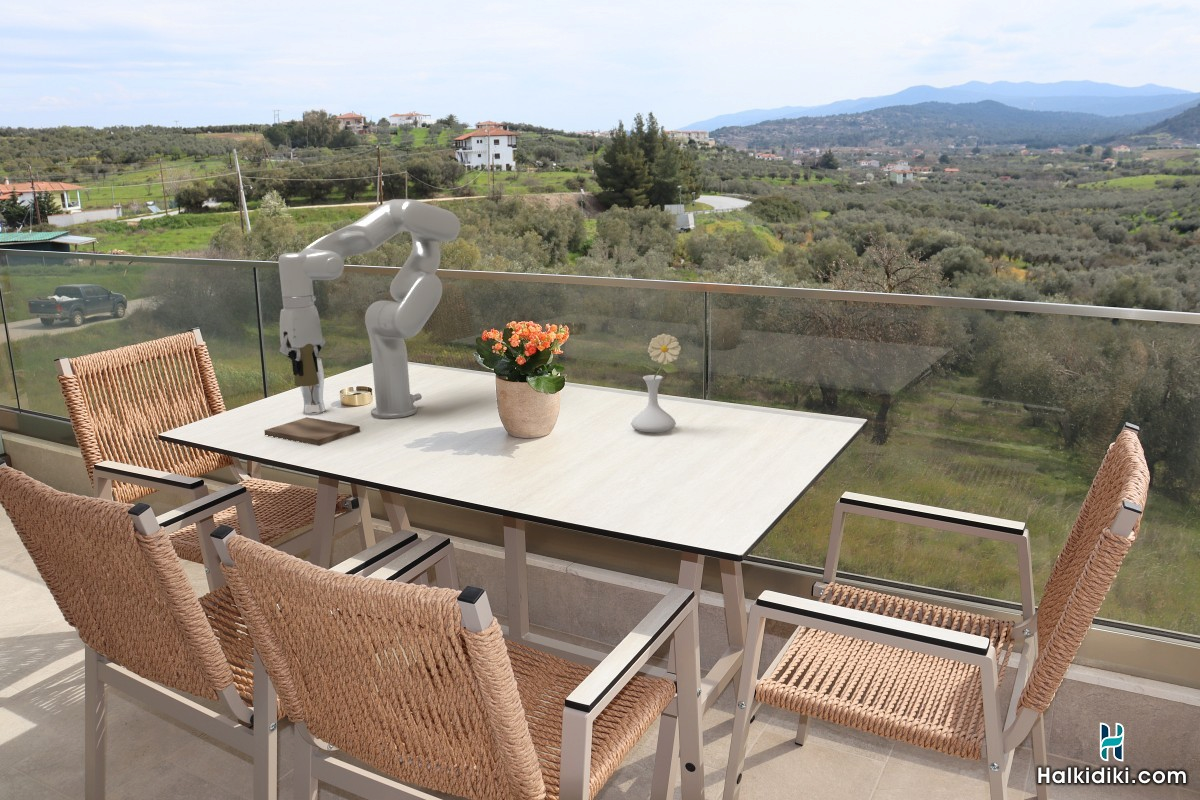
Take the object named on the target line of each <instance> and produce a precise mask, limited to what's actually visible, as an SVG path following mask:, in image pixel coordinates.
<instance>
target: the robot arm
mask: <svg viewBox="0 0 1200 800" xmlns="http://www.w3.org/2000/svg"><path fill="white" fill-rule="evenodd" d="M401 232H410V236H411V240H412V241H411V242H412V248H411V252H410V254H409V255H408V258H407V259H406V261H405V262H404V264H403V265H402V266H401V268H400V269H399V270H398V272H397V274H396V275H395V277H394V278H393V280H392V281H391V283H390V286H389V288H390V289H389V292H390V296H391V297H392V299H393V300H378V301H374V302H373V303H371V304H370V305H369V306H368V307H367V309H366V312H365V315H364V324H365V328H366V331H367V334H368V339H369V344H370V352H371V360H372V361H371V362H372V374H373V383H374V395H375V396H374V397H375V406H376V407H373V408H372V409H371V411H370V413H371V414H370V415H371V417H374V418H376V419H377V418H378V419H399V418H406V417H409V416H412V415H414V414H416V413H417V412H418V408H417V406H416V405H414V403H415V402H418V401H420V400H422V398H423V395H422V394H421V393H419V392H418V393H415V394H412V393H411V389H410V377H409V365H408V363H409V362H408V351H407V350H408V349H407V345H406V342H405V340H406V339H411V338H414V337H416V335H418V333H419V332H420V331H421V330H422V329H423V328H424V326H425V324H427V321H428V320H429V319H430V317H431V316H432V314H433V312H434V311H435V310H436V308H437V306H438V305H439V303H440V300H441V299H442V296H443V284H442V281H441V279H440V278H439V276H437V274H436V272H437V271H438V269H439V266H440V264H441V251H440V246H439V242H440V243H449V242H452V241H454V240H456V238H457V237H459V234H460V232H461V222H460V220H459V217H458V216H457V214H455V213H454V212H452V211H450V210H449V209H445V208H441V207H438V206H435V205H432V204H429V203H426V202H424V201H423V202H422V201H421V200H416V199H407V198H405V199H403V198H402V199H399V198H398V199H397V198H395V199H390V200H387V201H386V202H384V203H382V204H380V205H379V206H378V207H376V208H374V209H373V210H371V211H370V212H369V213H367V214H366V215H364V216H363V217H361V218H359V219H358V220H356V221H355V222H353V223H351V224H348V225H346V226H344V227H342V228H340V229H337V230H335V231H332V232H330V233H328V234H326V235H324V236H322V237H320V238H317V240H315V241H314V242H312V243H311V244H309V245H307V246H305V247H304V248H303V249H302V250H301V251H300V252H288V253H287V252H285V253H282V254H280V255H279V257H278V271H279V279H280V289H281V299H282V306H283V308H282V309H280V314H279V341H280V342H279V343H280V347H279V352H280V353H281V354H283V355H285V357H287V358H288V360H289V361H291V366H292V373H293V376H294V377H295V376H296V375H297V374H298V375H299V376H303V375H304V374H303V362H302V360H300V354H301V352H300V348H303V347H304V346H305V345H306V344H312V345H313V346H314V351H313V353H312V355H313V359H314V364H315V368H316V372H318V364H317V358H318V357H319V356H320V351H321V350H322V348H323V347H324V346H325V345H326V340H325V338H324V337H323V332H322V326H321V320H320V315H319V311H318V309H317V306H315V302H316V300H317V296H316V295H314V287H313V286H314V285H313V281H317V280H318V281H333V280H335V279H338V278H339V277H340V276H342V274H343V272H344V270H345V262H344V259H345V258H348V257H353V256H358V255H362V254H368V253H370V252H373V251H374V250H376V249H378V247H379V248H380V246H382V245H383V244H385V243H386V242H388V241H389V240H390V239H391V238H393V237H395V236H396V235H397V234H400V233H401ZM293 350H294V351H295V353H294V351H293Z"/></svg>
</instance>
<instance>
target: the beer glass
mask: <svg viewBox="0 0 1200 800" xmlns="http://www.w3.org/2000/svg"><path fill="white" fill-rule="evenodd" d="M317 364H318V372H317V376H318V380H319V383H318V384H316V385H312V386H299V388H300V392H301V394H302V397H303V412H302V413H303V414H304V415H307V414H315V415H320V414H324V413H326V411H327V410H326V406H325V402H324V387H325V386H324V384H325V375H324V367H323V363H322V359H321V358H318V357H317ZM323 412H324V413H323Z"/></svg>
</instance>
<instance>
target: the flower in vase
mask: <svg viewBox="0 0 1200 800" xmlns="http://www.w3.org/2000/svg"><path fill="white" fill-rule="evenodd" d="M679 344H680V342H679V341H678V339H677V338H676V337H675V336H672V335H670V334H665V333H662V334H659V335H656V336H655V337H652V338H651V341H650V342H649V345H648V348H647V353H649V357H650V359H651V361H654V362H656V363H657V364H661V365H660V367H659V369H658V370H657V371H656V369H654V368H652V367H649V366H647V365H645V364H644V363H642V365H643V366H644V367H645V368H646V369H648V370H651V371H653V372H655V374H649V375H644V376H642V379H643V380H644V382H645V383H646V387H647V391H648V402H647V405H646V407H645V408H644V409H643V410H642V411H640V412H639V413H638V414H637V415H636V416H634V418H633V419H632V421H631V422H630V425H631V427H632V428H633V429H635V430H637V431H639V432H642V433H643V432H644V433H662V432H663V433H664V432H666V431H669V430H671V429H673V428H674V427H675V425H676V424H677V423H676V421H675V419H674V418H673V417H672V415H670V413H668V412H666V411H665V410H664V409H663V408H661V406H660V405H659V401H658V395H659V394H658V392H659V386H660V383H661V381H662V379H663V378H664V377H663V376H662V375H658V374H659V372H660V371H661V370H663V371H664V372H665V373H666V374H672V373H673V374H674V373H676V372H679V371H680V370H679V369H678V367H677V366H676V365H675V364H673V363H672V362H675V361H677V360H678V358H679V354H680V352H681V351H682V349H681V348H682V346H681V345H679Z"/></svg>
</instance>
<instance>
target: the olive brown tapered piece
mask: <svg viewBox="0 0 1200 800" xmlns="http://www.w3.org/2000/svg"><path fill="white" fill-rule="evenodd" d="M293 351H294V350H293ZM313 351H314V346H313V345H312V344H306V345H305V346H304V347H303V348H300V352H301V354H300V360H302V362H303V374H304V375H303V376H299V375H298V374H297V375H296V376H295V375H294V386H295V387H300V386H312V385H316V384H318V383H319V380H318V376H317V372H316V368H315V364H314V359H313V355H312V353H313ZM294 353H295V351H294Z"/></svg>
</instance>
